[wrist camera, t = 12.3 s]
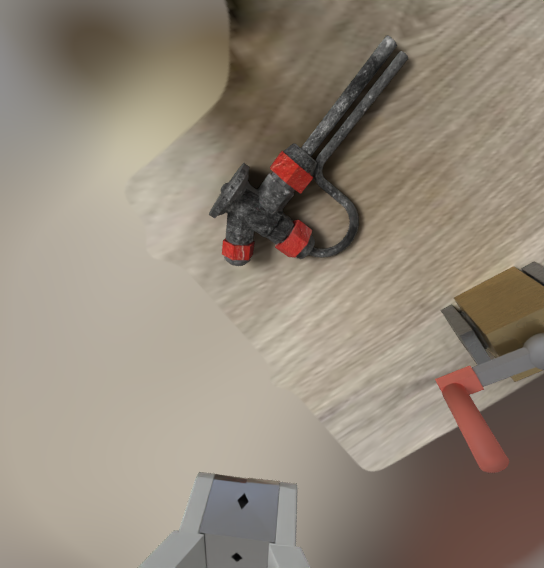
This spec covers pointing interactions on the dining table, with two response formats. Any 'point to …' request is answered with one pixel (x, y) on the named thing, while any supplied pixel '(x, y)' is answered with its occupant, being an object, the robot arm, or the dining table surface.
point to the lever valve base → (500, 314)
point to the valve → (299, 177)
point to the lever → (468, 380)
